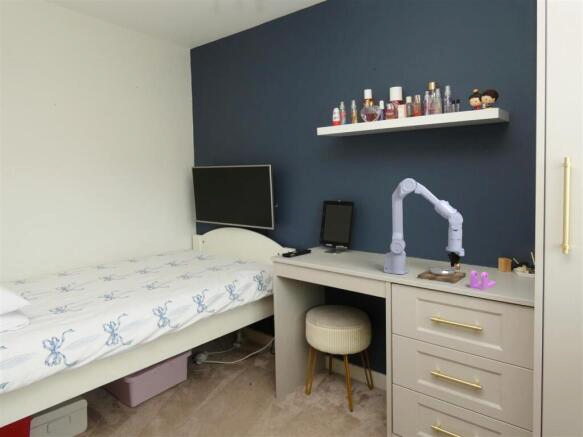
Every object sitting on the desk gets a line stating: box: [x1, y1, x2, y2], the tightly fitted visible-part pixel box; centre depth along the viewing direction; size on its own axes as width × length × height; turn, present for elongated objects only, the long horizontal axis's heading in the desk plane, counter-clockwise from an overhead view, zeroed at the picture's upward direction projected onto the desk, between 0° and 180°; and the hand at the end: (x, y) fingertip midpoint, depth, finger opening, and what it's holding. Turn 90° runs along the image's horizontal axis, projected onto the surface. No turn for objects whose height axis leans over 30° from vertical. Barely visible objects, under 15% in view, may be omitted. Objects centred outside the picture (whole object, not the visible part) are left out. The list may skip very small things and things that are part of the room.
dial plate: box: [417, 268, 467, 284], centre depth 190 cm, size 16×16×2 cm
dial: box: [429, 262, 461, 276], centre depth 190 cm, size 13×10×4 cm
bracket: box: [469, 269, 497, 291], centre depth 173 cm, size 13×6×7 cm, turn 132°
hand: (454, 269), depth 192 cm, fingers closed, pressing on dial
